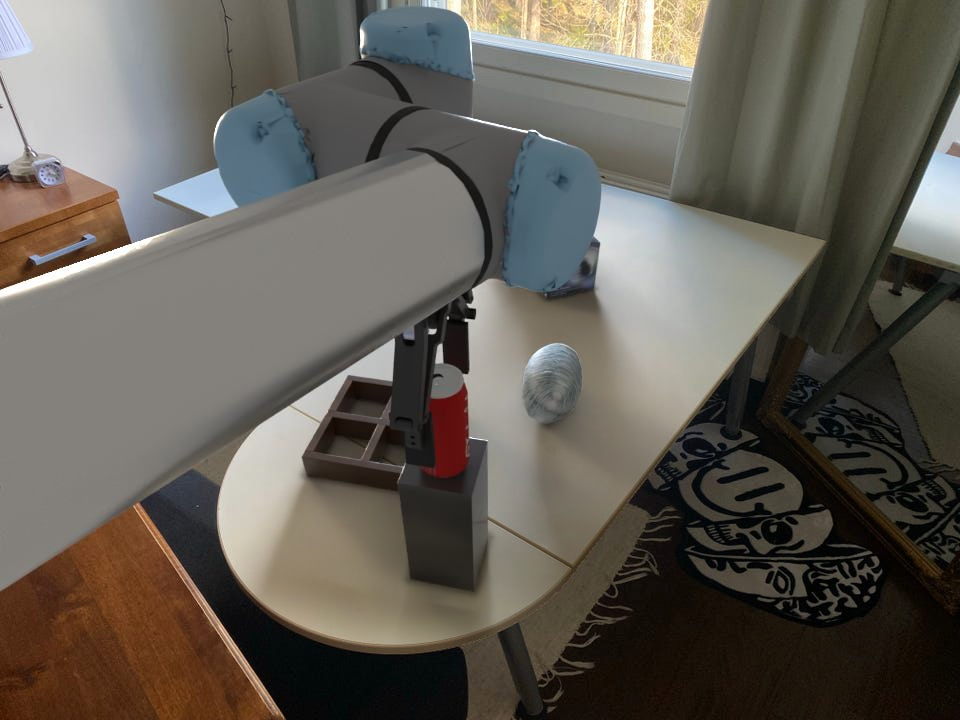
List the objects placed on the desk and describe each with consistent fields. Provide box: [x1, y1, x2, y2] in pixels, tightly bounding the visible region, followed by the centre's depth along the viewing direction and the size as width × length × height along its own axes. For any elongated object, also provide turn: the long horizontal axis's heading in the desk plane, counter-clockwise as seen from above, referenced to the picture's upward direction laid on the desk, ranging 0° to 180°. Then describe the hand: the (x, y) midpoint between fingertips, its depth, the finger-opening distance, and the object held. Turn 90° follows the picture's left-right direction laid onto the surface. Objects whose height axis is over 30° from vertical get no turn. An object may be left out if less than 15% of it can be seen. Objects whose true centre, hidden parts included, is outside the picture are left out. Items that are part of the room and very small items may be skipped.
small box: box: [540, 235, 601, 300], centre depth 127 cm, size 11×6×10 cm, turn 112°
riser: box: [397, 437, 489, 592], centre depth 78 cm, size 8×8×18 cm
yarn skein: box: [521, 342, 583, 425], centre depth 103 cm, size 14×10×10 cm
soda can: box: [421, 362, 470, 478], centre depth 68 cm, size 6×6×12 cm
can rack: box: [301, 374, 404, 493], centre depth 98 cm, size 18×18×4 cm
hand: (440, 413), depth 67 cm, fingers open, 13 cm apart
